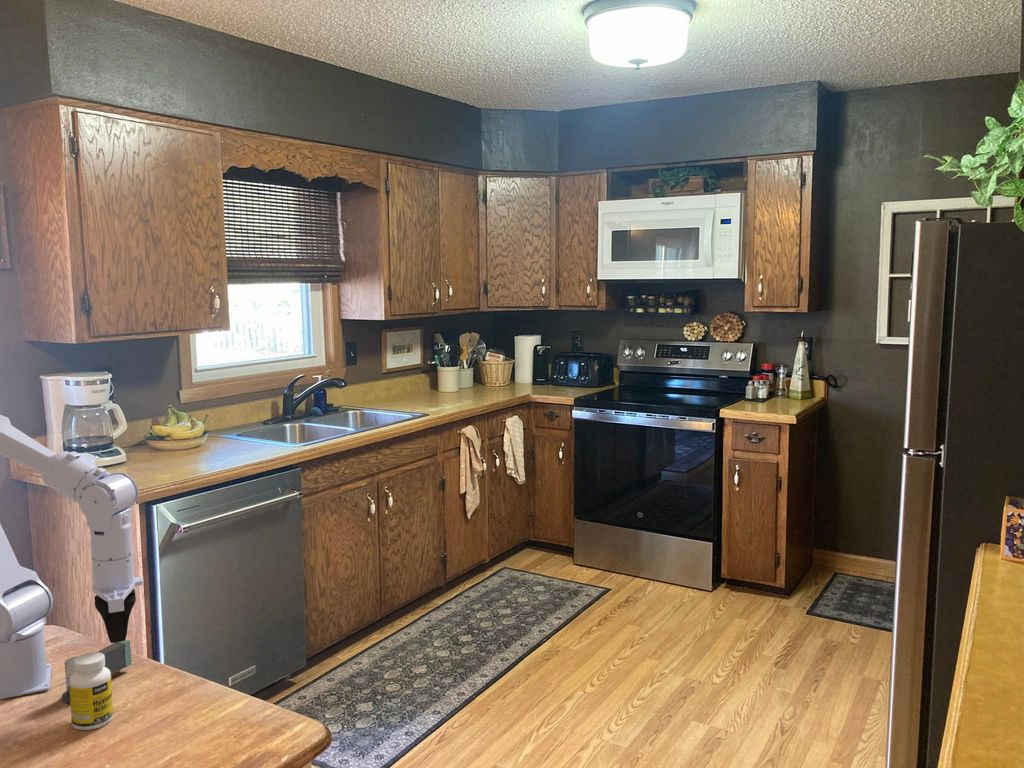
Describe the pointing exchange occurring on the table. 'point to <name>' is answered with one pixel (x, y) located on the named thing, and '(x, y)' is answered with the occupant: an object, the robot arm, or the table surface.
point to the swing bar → (114, 660)
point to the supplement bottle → (90, 692)
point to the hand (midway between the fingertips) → (117, 640)
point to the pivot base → (66, 698)
